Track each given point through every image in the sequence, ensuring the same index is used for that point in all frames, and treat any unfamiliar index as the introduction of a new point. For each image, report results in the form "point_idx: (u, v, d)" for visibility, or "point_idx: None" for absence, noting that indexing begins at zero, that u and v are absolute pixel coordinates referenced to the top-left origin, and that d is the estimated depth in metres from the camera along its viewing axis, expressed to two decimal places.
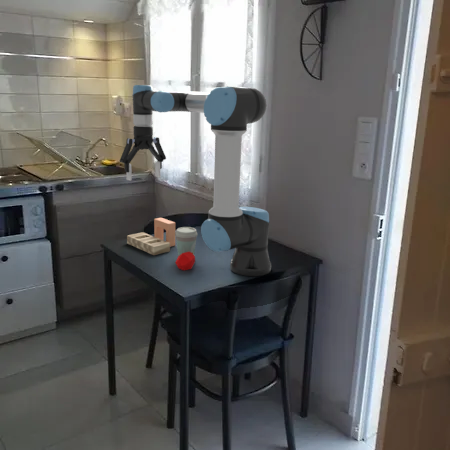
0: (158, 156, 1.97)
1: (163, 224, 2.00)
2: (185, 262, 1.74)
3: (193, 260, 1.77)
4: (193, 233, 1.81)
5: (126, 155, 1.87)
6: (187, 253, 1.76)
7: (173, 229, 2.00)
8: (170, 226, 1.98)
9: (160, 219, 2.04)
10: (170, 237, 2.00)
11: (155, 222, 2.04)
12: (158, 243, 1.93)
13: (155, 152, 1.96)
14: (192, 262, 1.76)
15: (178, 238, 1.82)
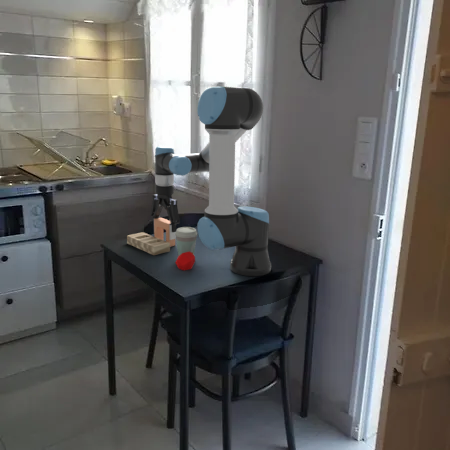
0: (170, 218, 1.97)
1: (163, 224, 2.00)
2: (185, 262, 1.74)
3: (193, 260, 1.77)
4: (193, 233, 1.81)
5: (151, 209, 2.05)
6: (187, 253, 1.76)
7: None
8: None
9: (160, 219, 2.04)
10: None
11: (155, 222, 2.04)
12: (158, 243, 1.93)
13: (168, 213, 1.97)
14: (192, 262, 1.76)
15: (178, 238, 1.82)
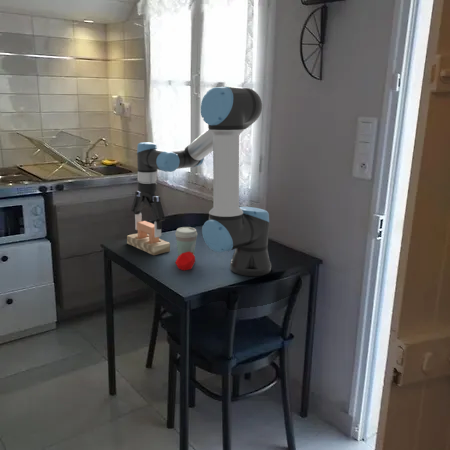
0: (154, 215, 1.90)
1: (146, 227, 1.94)
2: (185, 262, 1.74)
3: (193, 260, 1.77)
4: (193, 233, 1.81)
5: (133, 205, 2.00)
6: (187, 253, 1.76)
7: None
8: (153, 229, 1.93)
9: (143, 222, 1.98)
10: (154, 241, 1.94)
11: (138, 226, 1.98)
12: (158, 243, 1.93)
13: (152, 210, 1.90)
14: (192, 262, 1.76)
15: (178, 238, 1.82)
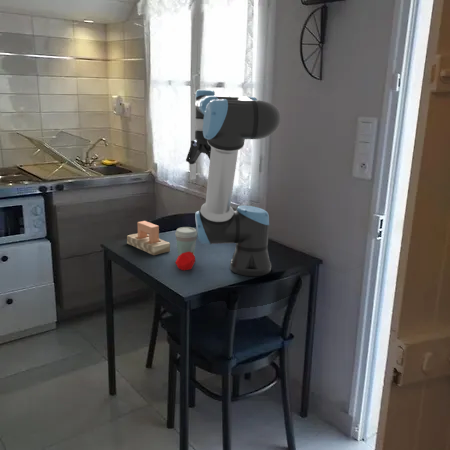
0: None
1: (146, 227, 1.94)
2: (185, 262, 1.74)
3: (193, 260, 1.77)
4: (193, 233, 1.81)
5: (188, 155, 2.01)
6: (187, 253, 1.76)
7: (156, 233, 1.94)
8: (153, 229, 1.93)
9: (143, 222, 1.98)
10: (154, 241, 1.94)
11: (138, 226, 1.98)
12: (158, 243, 1.93)
13: (210, 158, 1.92)
14: (192, 262, 1.76)
15: (178, 238, 1.82)
